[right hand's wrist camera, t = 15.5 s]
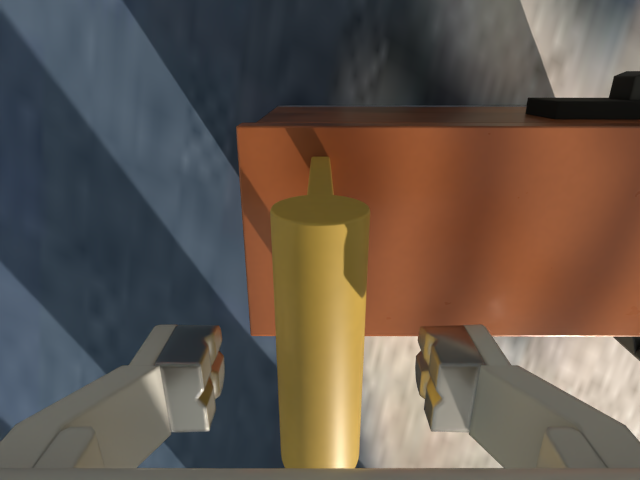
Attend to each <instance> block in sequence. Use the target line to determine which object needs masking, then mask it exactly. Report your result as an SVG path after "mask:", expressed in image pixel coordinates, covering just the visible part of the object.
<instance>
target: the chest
mask: <svg viewBox="0 0 640 480" xmlns="http://www.w3.org/2000/svg"><path fill="white" fill-rule="evenodd" d="M526 107H527V106H339V105H278V106H277V107H276V108H275V109H274V110H272V111H271V112H270V113H268V114H267V115H266V116H264V117H263V118H262V119H260V120H259V121H257V122H256V123H640V120H555V119H549V118H544V117H539V116H534V115H528V114H525V113H526Z"/></svg>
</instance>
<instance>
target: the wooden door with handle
mask: <svg viewBox="0 0 640 480" xmlns="http://www.w3.org/2000/svg"><path fill="white" fill-rule="evenodd" d="M236 135H237V150H238V164H239V178H240V192H241V206H242V220H243V234H244V248H245V262H246V276H247V290H248V304H249V318H250V332H251V336H276V351H277V373H278V395H279V417H280V439H281V457H282V461H283V464H284V466H285V468H355V467H356V464H357V462H358V458H359V442H360V420H361V399H362V377H363V356H364V336H418V334H419V329H420V326H451V325H477V324H482V325H484V326H485V327H486V328H487V330H488V331H489V333H490V334H491V336H640V123H241V124H239V125H238V126H236Z"/></svg>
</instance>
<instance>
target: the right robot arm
mask: <svg viewBox="0 0 640 480" xmlns="http://www.w3.org/2000/svg"><path fill="white" fill-rule="evenodd" d="M221 343H222V335H221V329H220V327H219V326H216V325H157V326H155V327H154V328H153V329H152V331H151V332H150V334H149V335H148V337H147V338H146V340H145V341H144V343H143V345H142V346H141V348H140V349H139V351H138V352H137V354H136V355H135V357H134V358H133V360H132V361H131V363H130V364H129V365H125V366H120V367H119V368H117V369H115V370H113V371H111V372H110V373H108V374H106V375H104V376H102V377H101V378H99V379H97V380H95V381H93V382H92V383H90V384H88V385H86V386H84V387H83V388H81V389H79V390H77V391H75V392H74V393H72V394H70V395H68V396H66V397H65V398H63V399H61V400H59V401H57V402H56V403H54V404H52V405H50V406H48V407H47V408H45V409H43V410H41V411H39V412H38V413H36V414H34V415H32V416H30V417H29V418H27V419H25V420H23V421H21V422H20V423H18V424H16V425H15V426H14V427H13V428H12V429H11V431H10V432H9V433H8V434H7V435H6V436H5V437H4V439H3V440H2V441H1V442H0V480H640V442H639V441H638V439H637V438H636V437H635V436H634V435H633V434H632V433H631V431H630V430H629V429H628V428H627V427H626V426H625V425H624V424H622V423H620V422H618V421H616V420H615V419H613V418H611V417H609V416H608V415H606V414H604V413H602V412H600V411H599V410H597V409H595V408H593V407H591V406H590V405H588V404H586V403H584V402H582V401H581V400H579V399H577V398H575V397H573V396H572V395H570V394H568V393H566V392H564V391H563V390H561V389H559V388H557V387H556V386H554V385H552V384H550V383H548V382H547V381H545V380H543V379H541V378H539V377H538V376H536V375H534V374H532V373H530V372H529V371H527V370H525V369H523V368H521V367H520V366H516V365H511V364H510V363H509V361H508V360H507V358H506V357H505V355H504V354H503V352H502V351H501V349H500V348H499V346H498V345H497V343H496V342H495V340H494V339H493V337H492V336H491V334H490V333H489V331H488V330H487V328H486V327H485V326H484V325H482V324H477V325H451V326H420V329H419V334H418V343H419V346H420V348H421V351H420V352H419V353H418V355H417V356H416V366H415V371H416V382H417V388H418V391H419V394H420V396H421V397H423V398H424V399H425V405H424V411H425V414H426V417H427V420H428V423H429V426H430V429H431V431H438V432H469V435H470V436H471V437H472V438H473V439H474V440H476V441H477V442H478V443H479V444H480V445H481V446H482V447H483V448H484V449H485V450H486V451H487V452H488V453H489V454H490V455H491V456H492V457H493V458H494V459H495V460H496V461H497V462H498V463H499V464H501V465H502V466H503V467H504V468H137V467H138V466H139V465H140V464H141V463H142V462H143V461H144V460H145V459H146V458H147V457H148V456H149V455H150V454H151V453H152V452H153V451H154V450H155V449H156V448H157V447H158V446H160V445H161V444H162V443H163V442H164V441H165V440H166V439H167V438H168V437H169V436H170V435H171V432H201V431H209V429H210V426H211V423H212V420H213V417H214V414H215V411H216V404H215V399H216V398H217V397H219V396H220V395H221V391H222V388H223V382H224V375H225V363H224V356H223V355H222V353H221V352H220V351H219V349H220V346H221Z"/></svg>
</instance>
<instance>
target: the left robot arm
mask: <svg viewBox="0 0 640 480" xmlns="http://www.w3.org/2000/svg"><path fill="white" fill-rule="evenodd" d="M525 114H528V115H534V116H539V117H544V118H549V119H555V120H640V71H626V72H624V73H621V74H619V75H616V76H614V79H613V83H612V87H611V91H610V96H609V98H528V101H527V107H526V113H525ZM613 337H614V338H615V339H616V340H617V341H618V342H619V343H620V344H621V345H622V346H624V347H625V348H626V349H627V350H628V351H629V352H630V353H631V354H632V355H634V356H635V357H636V358H637V359H638V360H639V361H640V336H613Z"/></svg>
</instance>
